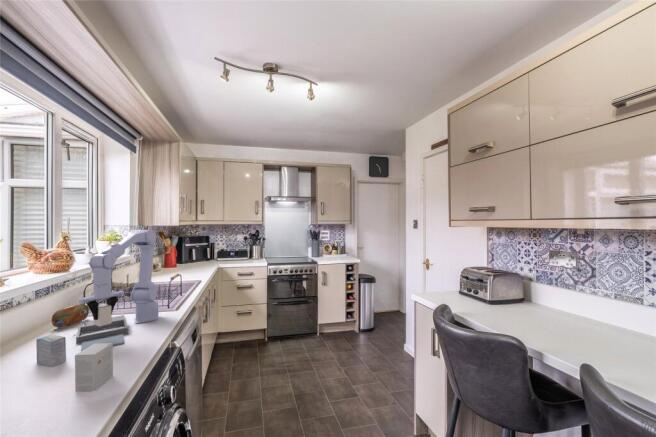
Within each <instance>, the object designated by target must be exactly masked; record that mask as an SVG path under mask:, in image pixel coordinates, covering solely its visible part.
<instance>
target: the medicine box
mask: <svg viewBox="0 0 656 437" xmlns="http://www.w3.org/2000/svg"><path fill="white" fill-rule="evenodd" d="M66 342H67V340H66V336H61V335H56V334H48V335H44V336H41V337H39V338H36V343H35V345H36V364H37V365H42V366H46V367H50V368H53V367H56V366H58V365H60V364H62V363H63V364H64V363H66V361H67V346H66V345H67V343H66Z"/></svg>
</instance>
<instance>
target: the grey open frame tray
mask: <svg viewBox="0 0 656 437" xmlns="http://www.w3.org/2000/svg"><path fill="white" fill-rule="evenodd" d="M111 320H112V323H111V324H107V325H103V326H97V325H95V324H93V320H89V321H86V319H85V320H82V322H79V326H78V328H77V332H76V336H75V337H76V338H75V341H76V343H75V344H76V345H79V344H82V342H84V341H89V340H94V339H99V338H104V337H109V336H114V335H119V334H123V335H126V334H128V333H129V332H128V331H129V327H128V324H127V320H126V318H125V315H124V314H121V315H116V316H111ZM121 326H123V327H121ZM116 327H121V328H116ZM111 328H116V329H111ZM104 329H105V331H104ZM106 329H110V330H106ZM100 330H103V331H100ZM94 331H99V332H94ZM91 332H94V333H91ZM85 333H90V334H85ZM81 334H85V335H81Z"/></svg>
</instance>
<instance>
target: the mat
mask: <svg viewBox="0 0 656 437" xmlns="http://www.w3.org/2000/svg"><path fill="white" fill-rule="evenodd" d="M99 343H113V347H114V346H115V347H116V346H120V345H125V340H124V334H119V335H114V336H109V337H104V338H99V339H94V340H89V341H84V342H82V343H81V347H80V348H81V349H80V352H81V351H83V350H85V349H86V348H88V347H90V346H91V345H93V344H99Z"/></svg>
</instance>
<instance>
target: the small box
mask: <svg viewBox="0 0 656 437" xmlns="http://www.w3.org/2000/svg"><path fill="white" fill-rule="evenodd" d="M113 348H114V346H113V343H99V344H93V345H91V346H90V347H88V348H86V349H85V350H83V351H81V350H80V351H79V352H78V353H77V354H75V355H74V376H75V378H74V384H75V386H74V387H75V390H74V391H75V392H76V393H77V392H78V391H80V392H94V391H93V390H95V391H97V389H99V388H100V387H102V386H103V385H104V384H105V383H106V382H108V381H109V380H110V379H112V377H113V376H114V356H113V354H114V353H113V352H114V350H113Z"/></svg>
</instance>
